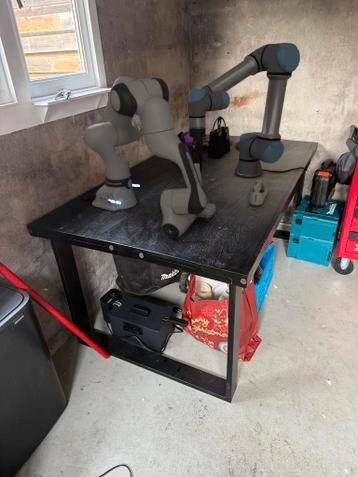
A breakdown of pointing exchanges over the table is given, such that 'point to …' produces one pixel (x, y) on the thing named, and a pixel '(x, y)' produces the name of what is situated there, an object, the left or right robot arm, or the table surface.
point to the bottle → (198, 172)
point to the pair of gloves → (206, 142)
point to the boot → (182, 138)
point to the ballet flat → (258, 193)
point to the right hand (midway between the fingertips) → (197, 177)
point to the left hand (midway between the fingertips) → (197, 200)
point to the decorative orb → (188, 141)
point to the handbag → (219, 140)
